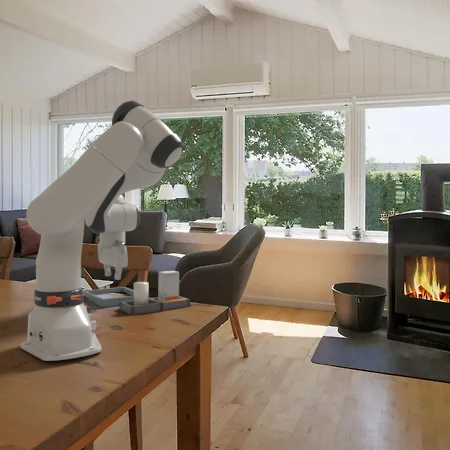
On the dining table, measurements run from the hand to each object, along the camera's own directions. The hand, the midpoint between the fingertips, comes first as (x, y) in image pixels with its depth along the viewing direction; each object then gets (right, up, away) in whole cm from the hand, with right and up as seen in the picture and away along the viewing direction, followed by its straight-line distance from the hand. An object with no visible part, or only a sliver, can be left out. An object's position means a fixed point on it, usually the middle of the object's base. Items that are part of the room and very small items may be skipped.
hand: (112, 277), depth 165 cm
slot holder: (+17, -9, -11) cm, 22 cm away
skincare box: (+21, -9, -9) cm, 25 cm away
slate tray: (0, -8, 0) cm, 8 cm away
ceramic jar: (+13, -9, -14) cm, 21 cm away
